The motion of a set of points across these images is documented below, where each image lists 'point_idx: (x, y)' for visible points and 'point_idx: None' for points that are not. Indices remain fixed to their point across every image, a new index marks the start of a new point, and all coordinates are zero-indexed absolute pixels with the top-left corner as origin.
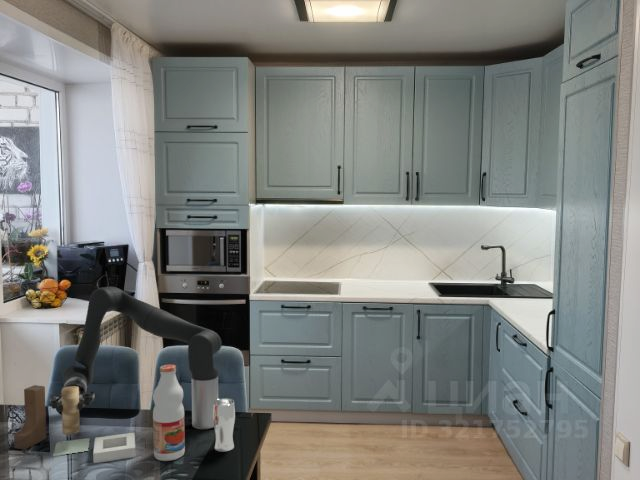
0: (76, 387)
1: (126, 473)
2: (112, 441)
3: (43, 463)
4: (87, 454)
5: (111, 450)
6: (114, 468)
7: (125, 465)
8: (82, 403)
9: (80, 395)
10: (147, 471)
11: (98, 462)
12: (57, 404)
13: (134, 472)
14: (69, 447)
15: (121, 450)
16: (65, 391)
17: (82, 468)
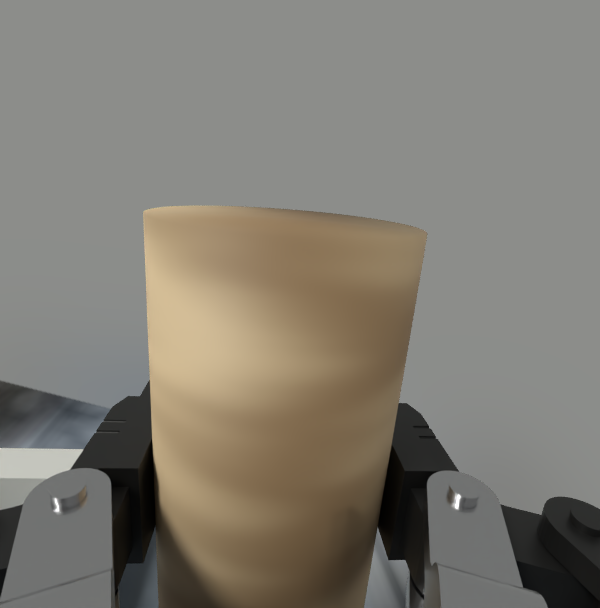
0: (182, 214)
1: (67, 402)
2: None
3: (379, 561)
4: (147, 599)
5: (55, 452)
6: (85, 435)
7: (37, 441)
8: (124, 403)
9: (43, 588)
10: (2, 395)
11: None
12: (442, 447)
13: (41, 400)
14: None
15: (8, 452)
16: (330, 214)
17: None
